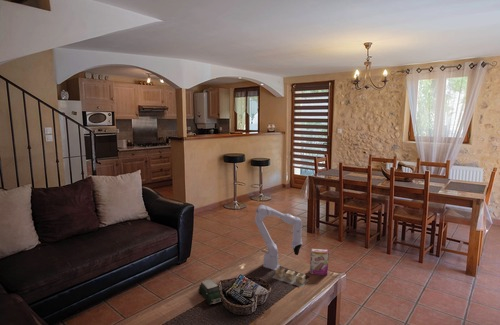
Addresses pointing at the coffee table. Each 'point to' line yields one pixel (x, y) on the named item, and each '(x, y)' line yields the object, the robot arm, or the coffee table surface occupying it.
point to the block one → (280, 272)
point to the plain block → (290, 275)
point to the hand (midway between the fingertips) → (296, 254)
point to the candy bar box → (319, 261)
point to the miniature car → (210, 291)
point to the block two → (300, 278)
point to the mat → (290, 281)
